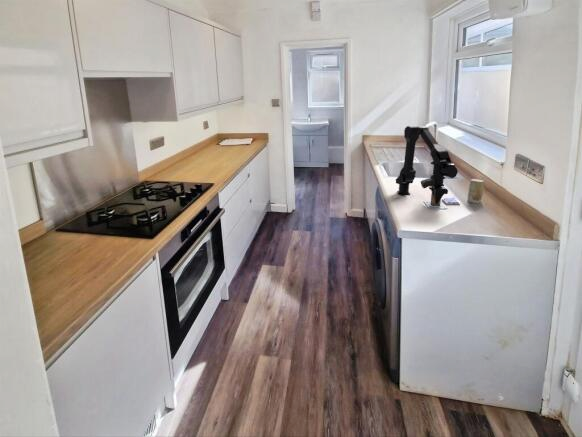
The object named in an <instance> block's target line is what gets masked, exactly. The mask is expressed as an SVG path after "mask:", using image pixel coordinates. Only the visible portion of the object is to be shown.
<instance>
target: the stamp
mask: <svg viewBox="0 0 582 437" xmlns="http://www.w3.org/2000/svg"><path fill="white" fill-rule="evenodd" d="M430 195H431V196H430V202H431V203H430V204H431V205H432V206H440V202H441V201H442V198H441V199H440V201H439V203H438V204H436V203H435V194H434V193H432V192H431V194H430ZM441 203H442V202H441Z"/></svg>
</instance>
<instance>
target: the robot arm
mask: <svg viewBox="0 0 582 437" xmlns="http://www.w3.org/2000/svg"><path fill="white" fill-rule="evenodd" d="M403 131H404V133H403V134H404V139H405V141H406V145H405V153H404V162H403V167H402V168H401V170H400V171H399V175H398V177H396V179H395V184H397V185H398V190H397V191H396V192H397V194H398V195H406V196H407V195H409V196H410V195H411V193H410V184H413V183H414V180H415V178H416V174H417V171H416V170H415V169H414V167H413V166H414V159H415V151H416V150H415V149H416V145H417V144H416V143H417V141H418V140H419V138H420V137H421V138H422V140H423V142H424V143H425V144H426V146H427V147H428V148H429V150H430V156H431V159H432V161H431V162H430V164H431V165H433V166H432V167H433V168H432V174H431V175H430V177H429V178H426V179H422V180H421V181H420V184H421V188H422V189H427V188H428V189H429V190H430V191H431V193H434V194H435V203H436V204H438V203H439V201H440V199H441V200H442V198H443V196H444V195H448V194H449V189H447V188H446V186H445V184H444V180H445V179H446V177H447V178H449V179H454V178H456V177H457V175H458V173H459V172H458V167H456V164H455V163H453V161H452V159H451V157H450V154H449V151H448V150H447V148H445V147H444V146H442V145H440V144H439V143H438V142H437V140H436V139H435V137H434V136H433V134H432V133H431V131H430V130H429V127H428V126H419V125H407V126H406V127H405V128H404V130H403Z"/></svg>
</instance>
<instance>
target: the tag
mask: <svg viewBox="0 0 582 437" xmlns="http://www.w3.org/2000/svg"><path fill="white" fill-rule="evenodd" d="M423 203H424V205H426V207H427V208H428V209H429V210H448V207H446V205H444V204H443V202H440V206H432V205H431V204H430V203H431V201H423Z"/></svg>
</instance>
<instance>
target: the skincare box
mask: <svg viewBox="0 0 582 437" xmlns="http://www.w3.org/2000/svg"><path fill="white" fill-rule="evenodd" d="M484 187H485V180H483V179H477V178H472V179H470V182H469V187H468V194H467V202H470V203H474V204H480V203H482V198H483V192H484ZM479 202H480V203H479Z"/></svg>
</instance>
